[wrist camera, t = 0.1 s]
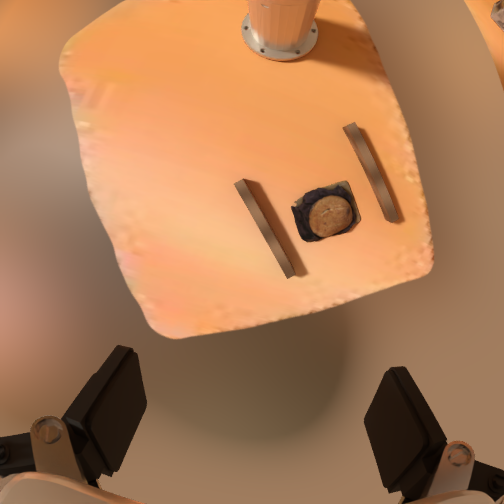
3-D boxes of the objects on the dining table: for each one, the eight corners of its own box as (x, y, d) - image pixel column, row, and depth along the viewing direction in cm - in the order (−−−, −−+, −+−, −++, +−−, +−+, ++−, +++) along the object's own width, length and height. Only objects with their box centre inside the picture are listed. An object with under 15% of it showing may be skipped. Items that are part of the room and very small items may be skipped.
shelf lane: (235, 183, 44) (233, 184, 41) (350, 124, 40) (354, 122, 38) (286, 273, 47) (287, 278, 45) (392, 216, 44) (399, 218, 41)
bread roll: (345, 176, 43) (352, 177, 40) (361, 224, 45) (369, 228, 42) (285, 199, 45) (287, 202, 41) (304, 247, 47) (307, 253, 43)
